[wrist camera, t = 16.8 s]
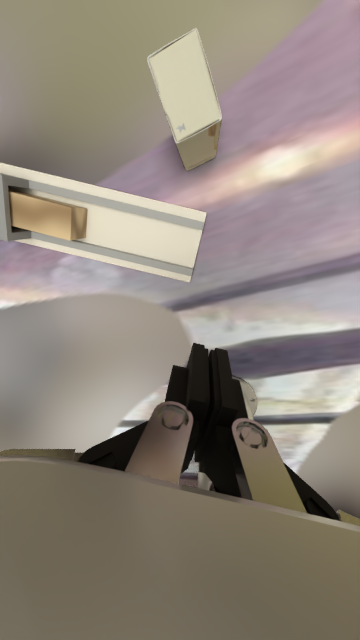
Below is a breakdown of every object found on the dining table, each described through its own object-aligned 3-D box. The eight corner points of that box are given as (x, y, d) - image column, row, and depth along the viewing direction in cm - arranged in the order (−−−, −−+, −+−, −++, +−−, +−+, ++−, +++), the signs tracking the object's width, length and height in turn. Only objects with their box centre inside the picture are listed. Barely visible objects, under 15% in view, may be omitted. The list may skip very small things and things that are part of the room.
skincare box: (217, 157, 30) (225, 123, 19) (185, 172, 31) (176, 149, 20) (199, 98, 28) (198, 21, 17) (166, 116, 29) (144, 55, 18)
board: (190, 280, 37) (187, 293, 31) (4, 236, 37) (-37, 240, 30) (206, 212, 33) (207, 211, 27) (-3, 162, 33) (-52, 149, 26)
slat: (85, 237, 35) (70, 240, 31) (6, 217, 35) (-21, 217, 30) (87, 208, 33) (71, 207, 29) (4, 187, 33) (-25, 183, 29)
